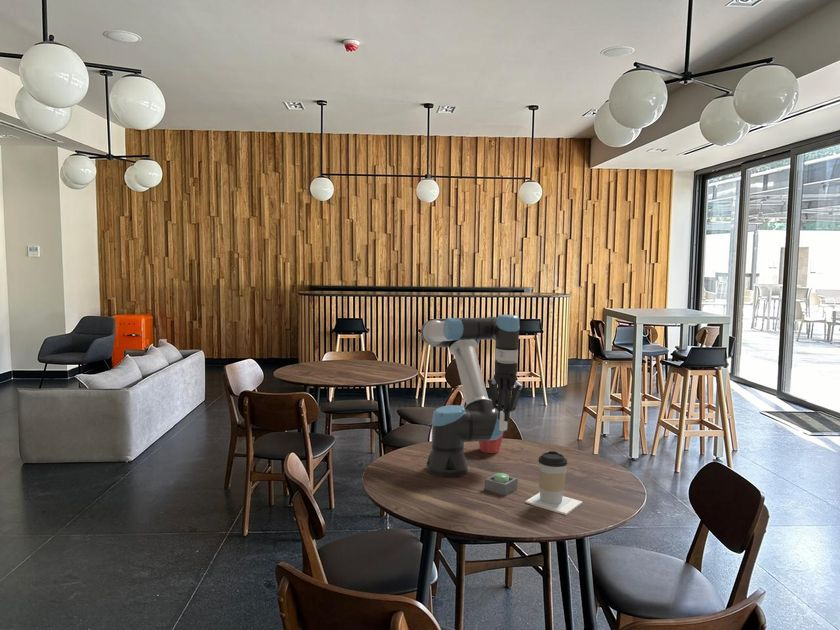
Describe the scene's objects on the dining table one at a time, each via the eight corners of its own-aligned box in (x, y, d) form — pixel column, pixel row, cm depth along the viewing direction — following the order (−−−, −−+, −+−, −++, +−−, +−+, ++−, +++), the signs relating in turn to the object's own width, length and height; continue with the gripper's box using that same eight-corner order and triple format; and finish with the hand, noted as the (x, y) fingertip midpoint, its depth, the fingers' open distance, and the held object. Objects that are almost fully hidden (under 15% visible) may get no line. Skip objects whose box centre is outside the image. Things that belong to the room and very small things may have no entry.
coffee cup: (565, 507, 187) (568, 460, 186) (536, 504, 189) (538, 457, 187) (565, 496, 196) (567, 451, 194) (536, 493, 198) (538, 448, 196)
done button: (490, 487, 202) (491, 475, 202) (498, 483, 206) (498, 471, 206) (503, 491, 199) (504, 479, 199) (511, 486, 203) (511, 475, 202)
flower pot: (488, 444, 251) (488, 422, 250) (508, 451, 243) (509, 427, 242) (470, 449, 244) (471, 426, 243) (491, 456, 236) (492, 432, 235)
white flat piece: (525, 502, 191) (525, 500, 191) (542, 492, 201) (542, 490, 200) (566, 515, 183) (566, 513, 182) (582, 503, 192) (582, 501, 192)
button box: (484, 489, 202) (484, 479, 202) (496, 482, 208) (497, 472, 208) (505, 495, 197) (505, 485, 197) (517, 488, 203) (517, 478, 203)
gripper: (483, 359, 202) (480, 428, 204) (517, 365, 193) (514, 436, 196) (495, 357, 207) (493, 423, 210) (529, 362, 199) (525, 431, 202)
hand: (503, 429), depth 203 cm, fingers closed
